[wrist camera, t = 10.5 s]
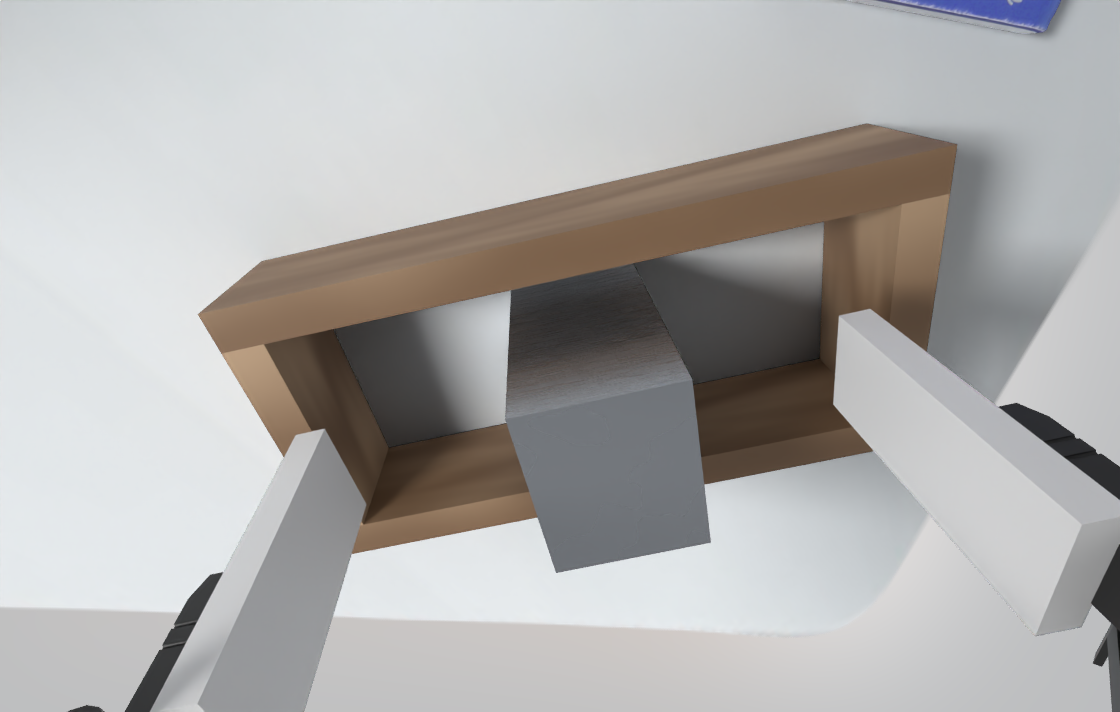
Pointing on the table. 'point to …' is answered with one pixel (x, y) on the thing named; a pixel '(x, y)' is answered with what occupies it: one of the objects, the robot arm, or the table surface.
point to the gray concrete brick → (603, 420)
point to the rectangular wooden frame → (579, 248)
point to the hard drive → (981, 12)
